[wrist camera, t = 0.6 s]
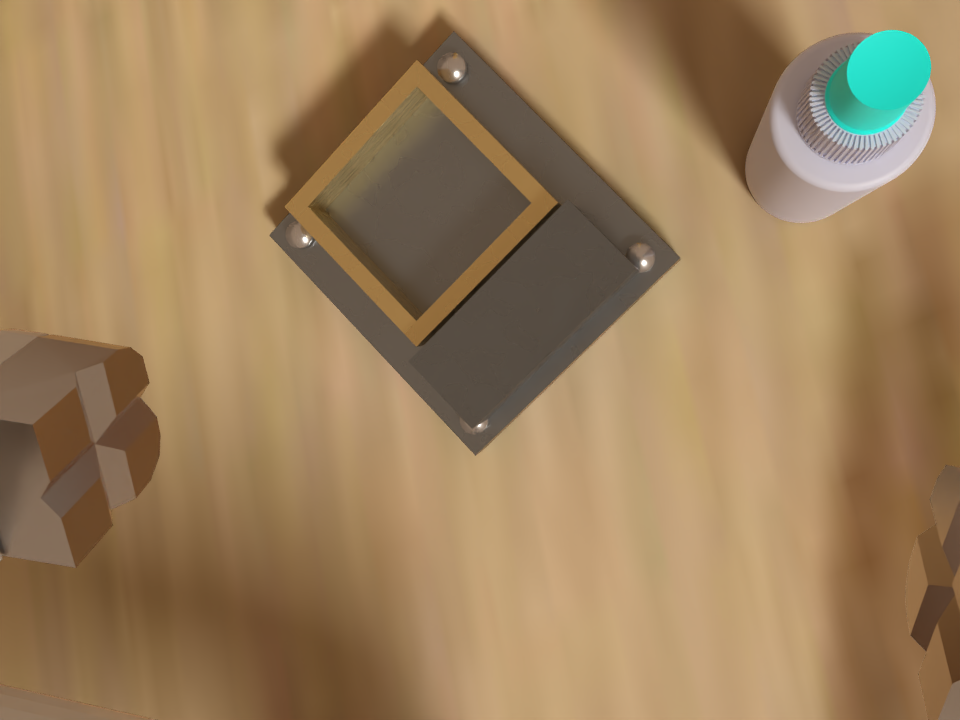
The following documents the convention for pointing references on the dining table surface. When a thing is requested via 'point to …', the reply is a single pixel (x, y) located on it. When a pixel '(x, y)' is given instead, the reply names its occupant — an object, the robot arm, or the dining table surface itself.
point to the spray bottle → (841, 124)
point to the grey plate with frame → (469, 243)
